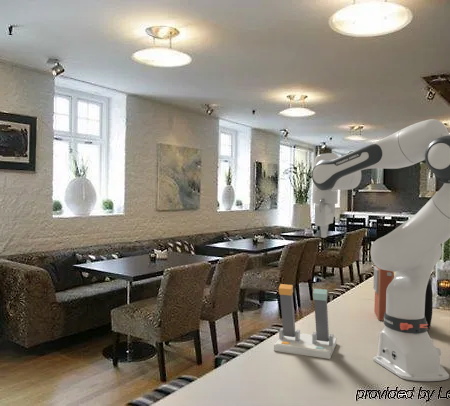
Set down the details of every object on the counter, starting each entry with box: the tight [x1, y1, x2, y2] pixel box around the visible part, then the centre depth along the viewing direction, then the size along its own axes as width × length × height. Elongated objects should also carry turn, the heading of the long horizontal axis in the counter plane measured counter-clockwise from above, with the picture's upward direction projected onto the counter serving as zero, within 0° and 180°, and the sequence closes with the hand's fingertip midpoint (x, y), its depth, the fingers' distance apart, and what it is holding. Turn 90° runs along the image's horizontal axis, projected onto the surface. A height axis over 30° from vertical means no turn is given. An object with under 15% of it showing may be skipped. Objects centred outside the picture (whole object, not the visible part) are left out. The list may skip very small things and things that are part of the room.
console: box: [273, 327, 337, 360], centre depth 150 cm, size 15×18×5 cm
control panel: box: [372, 265, 395, 322], centre depth 188 cm, size 21×7×15 cm
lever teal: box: [312, 288, 330, 342], centre depth 144 cm, size 2×4×20 cm, turn 69°
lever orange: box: [278, 283, 296, 337], centre depth 148 cm, size 2×4×20 cm, turn 69°
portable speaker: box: [424, 278, 434, 332], centre depth 170 cm, size 9×9×20 cm
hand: (324, 237), depth 163 cm, fingers closed
